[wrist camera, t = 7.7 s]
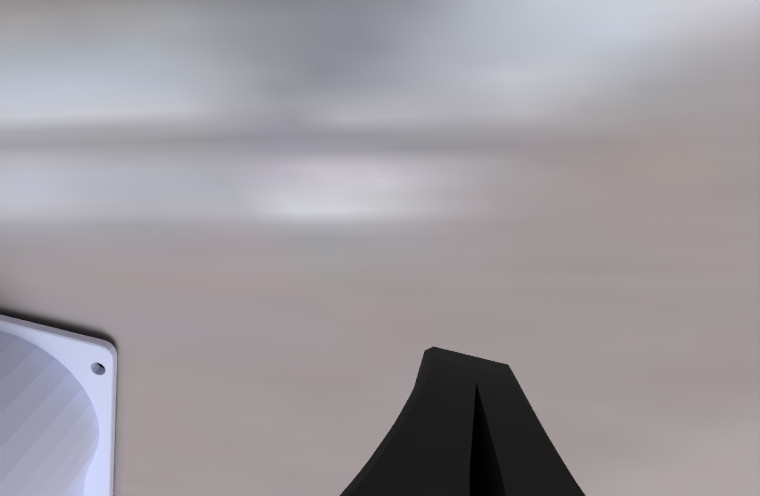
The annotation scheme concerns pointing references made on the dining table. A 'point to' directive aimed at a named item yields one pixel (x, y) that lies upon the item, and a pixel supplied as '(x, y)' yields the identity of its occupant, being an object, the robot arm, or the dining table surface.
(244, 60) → the dining table surface
